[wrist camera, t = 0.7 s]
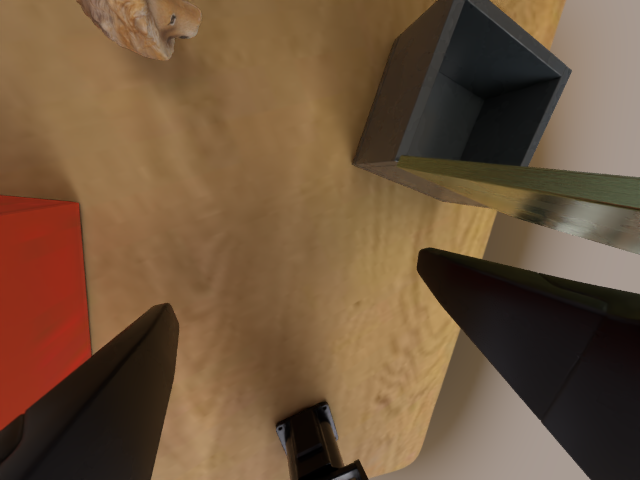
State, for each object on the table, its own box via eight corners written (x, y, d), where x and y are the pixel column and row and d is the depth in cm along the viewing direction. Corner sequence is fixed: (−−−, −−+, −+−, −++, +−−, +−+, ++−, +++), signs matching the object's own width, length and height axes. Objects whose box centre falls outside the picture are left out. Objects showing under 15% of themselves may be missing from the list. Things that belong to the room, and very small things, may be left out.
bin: (394, 39, 21) (462, -24, 15) (485, 98, 25) (572, 70, 18) (351, 164, 23) (394, 160, 16) (442, 201, 27) (507, 211, 20)
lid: (702, 182, 5) (674, 217, 5) (827, 286, 9) (808, 304, 9) (400, 154, 16) (395, 166, 16) (516, 207, 20) (510, 216, 20)
